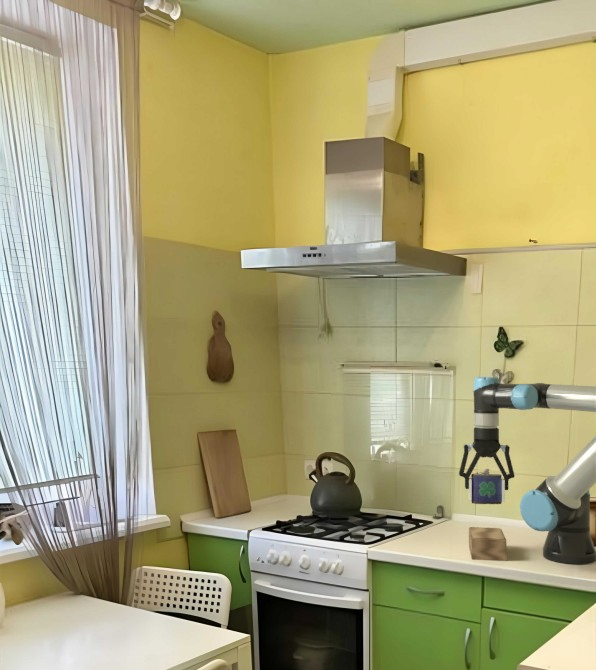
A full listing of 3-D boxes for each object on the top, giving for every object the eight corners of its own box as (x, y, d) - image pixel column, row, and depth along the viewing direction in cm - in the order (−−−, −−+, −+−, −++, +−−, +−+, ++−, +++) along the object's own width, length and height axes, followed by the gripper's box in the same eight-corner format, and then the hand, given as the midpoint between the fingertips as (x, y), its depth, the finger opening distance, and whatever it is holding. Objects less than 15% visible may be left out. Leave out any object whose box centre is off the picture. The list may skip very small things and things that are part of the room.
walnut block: (501, 548, 238) (501, 527, 238) (506, 560, 222) (506, 539, 222) (468, 546, 240) (468, 526, 240) (471, 559, 224) (471, 537, 224)
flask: (500, 502, 233) (500, 468, 233) (502, 504, 230) (502, 469, 230) (470, 502, 233) (470, 467, 234) (472, 504, 230) (472, 469, 231)
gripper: (521, 426, 234) (521, 499, 233) (449, 425, 238) (450, 496, 237) (524, 428, 227) (524, 503, 226) (450, 427, 231) (450, 501, 230)
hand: (486, 500), depth 232 cm, fingers closed on flask, 9 cm apart
